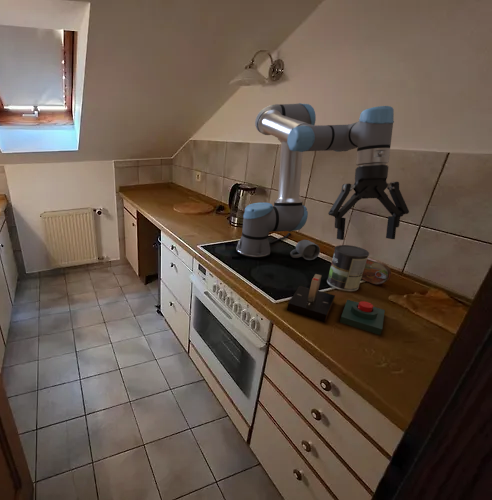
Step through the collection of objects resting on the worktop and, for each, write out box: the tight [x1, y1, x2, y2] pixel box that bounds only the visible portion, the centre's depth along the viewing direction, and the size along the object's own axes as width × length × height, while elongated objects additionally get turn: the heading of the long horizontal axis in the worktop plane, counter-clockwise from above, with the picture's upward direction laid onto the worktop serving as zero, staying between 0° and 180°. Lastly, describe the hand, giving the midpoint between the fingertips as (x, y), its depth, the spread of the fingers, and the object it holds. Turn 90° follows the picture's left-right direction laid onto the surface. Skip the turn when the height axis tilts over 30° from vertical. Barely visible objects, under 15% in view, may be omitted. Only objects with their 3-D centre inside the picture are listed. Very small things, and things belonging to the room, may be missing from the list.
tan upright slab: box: [307, 273, 323, 303], centre depth 97 cm, size 5×2×8 cm, turn 140°
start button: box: [358, 300, 374, 312], centre depth 91 cm, size 4×4×2 cm
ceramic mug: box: [289, 239, 321, 261], centre depth 134 cm, size 11×8×8 cm
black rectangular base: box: [286, 285, 336, 323], centre depth 99 cm, size 14×11×3 cm
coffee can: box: [326, 244, 370, 292], centre depth 109 cm, size 10×10×14 cm
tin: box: [361, 257, 392, 285], centre depth 114 cm, size 15×3×8 cm, turn 24°
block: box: [339, 299, 385, 336], centre depth 92 cm, size 12×10×4 cm
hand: (364, 239), depth 89 cm, fingers open, 13 cm apart
